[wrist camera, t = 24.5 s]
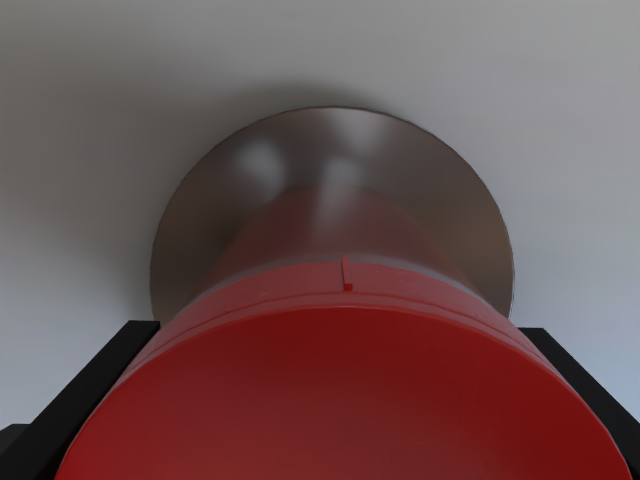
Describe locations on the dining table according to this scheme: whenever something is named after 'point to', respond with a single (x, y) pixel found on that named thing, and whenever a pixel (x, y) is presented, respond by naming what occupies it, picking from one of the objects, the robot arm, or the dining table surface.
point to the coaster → (321, 167)
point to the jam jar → (330, 238)
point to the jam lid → (341, 390)
